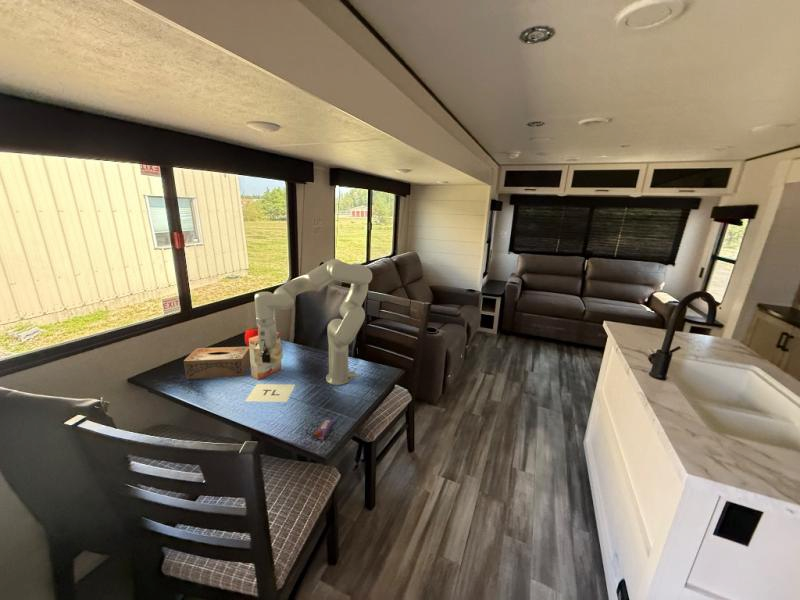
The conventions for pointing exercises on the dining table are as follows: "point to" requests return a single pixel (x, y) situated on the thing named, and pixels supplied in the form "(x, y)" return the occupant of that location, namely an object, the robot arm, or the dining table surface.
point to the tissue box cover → (217, 362)
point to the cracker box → (261, 368)
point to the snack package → (323, 428)
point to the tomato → (250, 334)
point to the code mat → (270, 393)
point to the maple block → (274, 354)
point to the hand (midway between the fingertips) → (269, 358)
